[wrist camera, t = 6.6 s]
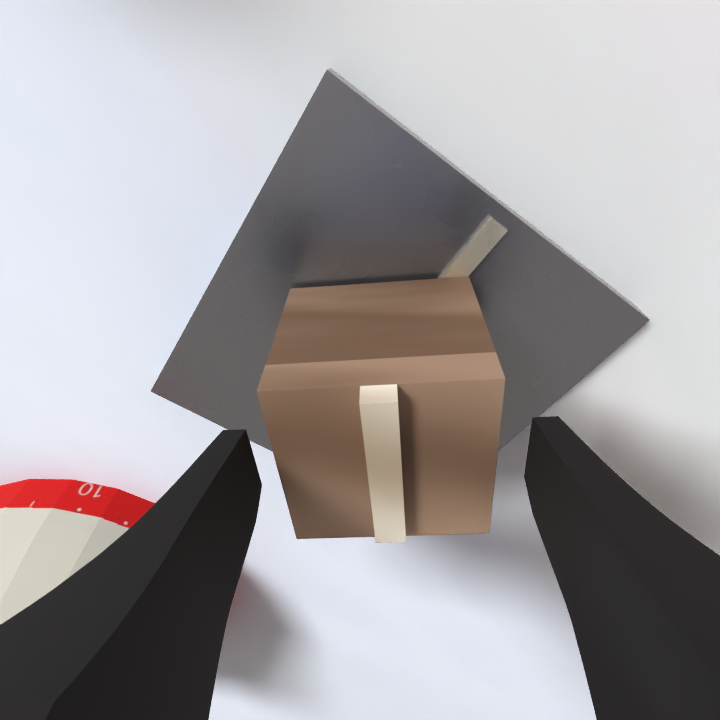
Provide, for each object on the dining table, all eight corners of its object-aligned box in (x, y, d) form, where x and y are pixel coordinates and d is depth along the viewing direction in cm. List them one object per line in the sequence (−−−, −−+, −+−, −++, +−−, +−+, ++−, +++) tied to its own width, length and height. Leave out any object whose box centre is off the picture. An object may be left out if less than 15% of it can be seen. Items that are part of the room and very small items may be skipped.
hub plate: (635, 305, 16) (703, 374, 13) (413, 503, 22) (420, 587, 18) (330, 68, 13) (313, 75, 9) (161, 375, 18) (111, 449, 15)
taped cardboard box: (462, 413, 17) (493, 552, 13) (315, 419, 18) (293, 558, 13) (468, 276, 14) (511, 396, 10) (290, 288, 15) (250, 409, 10)
